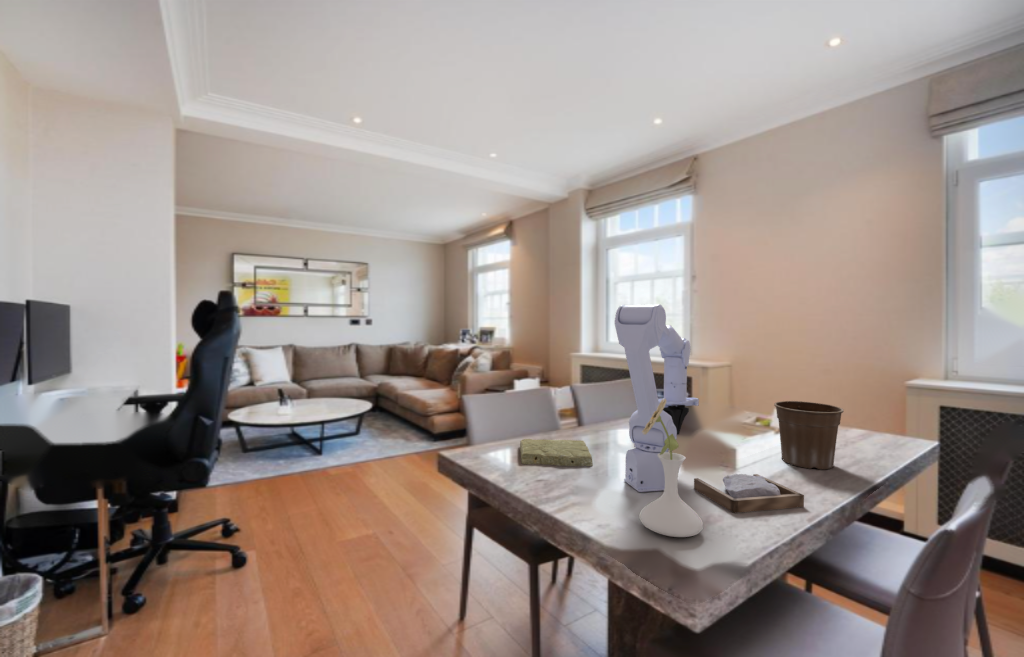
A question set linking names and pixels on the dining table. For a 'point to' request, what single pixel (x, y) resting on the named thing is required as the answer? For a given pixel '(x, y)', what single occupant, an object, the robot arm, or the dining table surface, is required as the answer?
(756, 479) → the stone block
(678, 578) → the dining table surface
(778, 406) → the plant pot
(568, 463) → the decorative tile
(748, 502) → the walnut corral
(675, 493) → the flower in vase
